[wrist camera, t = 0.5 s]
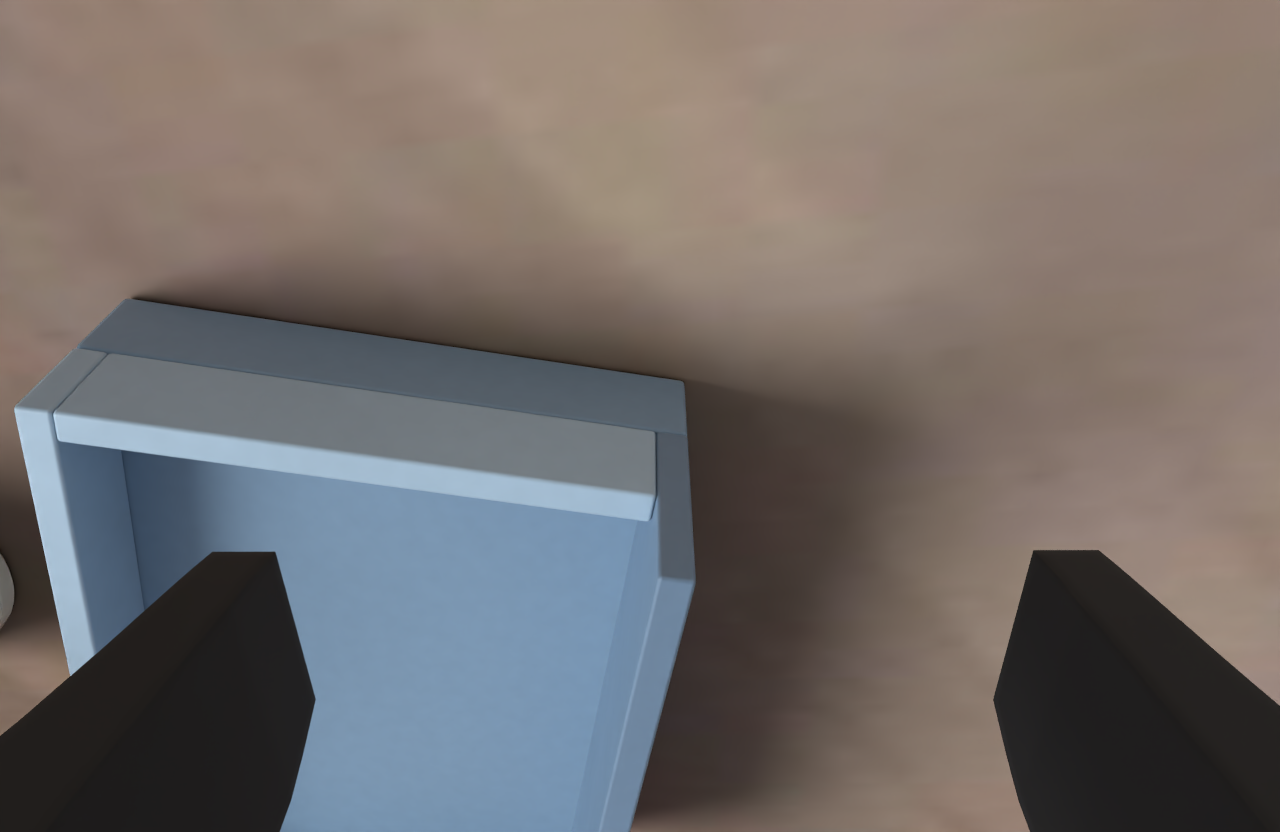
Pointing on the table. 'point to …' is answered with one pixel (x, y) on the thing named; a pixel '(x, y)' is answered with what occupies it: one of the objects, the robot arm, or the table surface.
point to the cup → (5, 592)
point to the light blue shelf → (391, 549)
